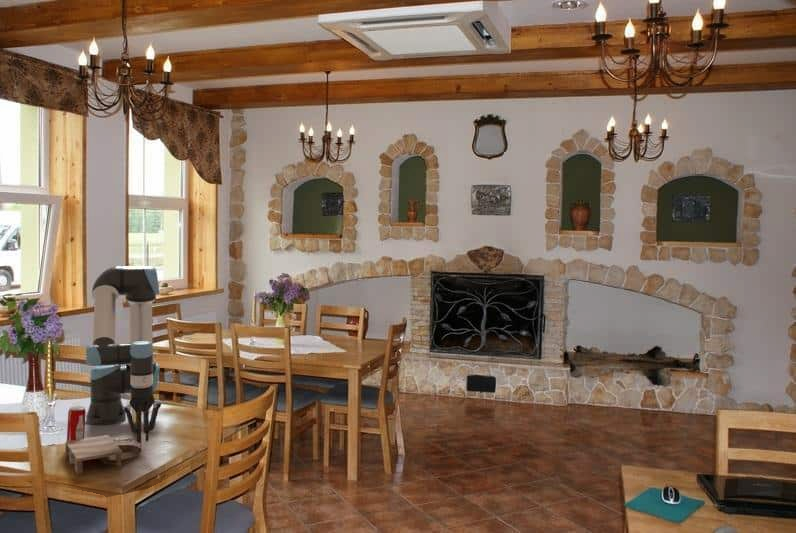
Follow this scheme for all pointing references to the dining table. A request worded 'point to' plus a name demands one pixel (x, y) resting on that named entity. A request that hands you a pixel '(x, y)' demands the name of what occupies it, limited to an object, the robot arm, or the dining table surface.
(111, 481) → the dining table surface
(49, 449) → the dining table surface
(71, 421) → the beverage can
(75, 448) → the overhang shelf
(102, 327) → the robot arm
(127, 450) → the saucer
